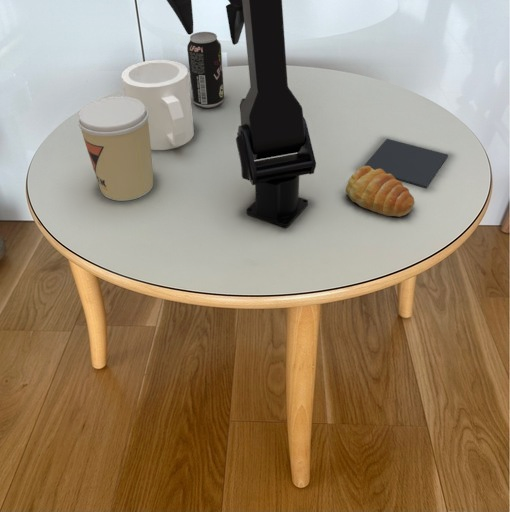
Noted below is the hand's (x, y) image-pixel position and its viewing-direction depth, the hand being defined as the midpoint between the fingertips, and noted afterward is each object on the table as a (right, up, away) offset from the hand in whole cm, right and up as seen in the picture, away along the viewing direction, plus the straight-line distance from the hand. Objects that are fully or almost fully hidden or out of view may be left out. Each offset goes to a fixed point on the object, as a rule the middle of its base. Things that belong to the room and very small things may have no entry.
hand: (212, 38), depth 96 cm
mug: (-8, -17, -1) cm, 19 cm away
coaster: (+30, -22, -9) cm, 38 cm away
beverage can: (-1, -9, +8) cm, 12 cm away
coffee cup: (-12, -26, -12) cm, 31 cm away
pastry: (+24, -29, -16) cm, 41 cm away
